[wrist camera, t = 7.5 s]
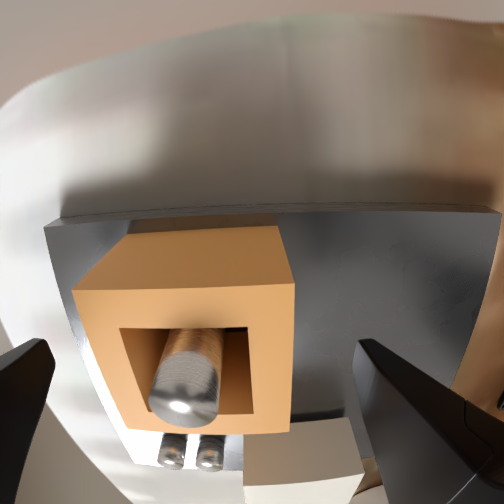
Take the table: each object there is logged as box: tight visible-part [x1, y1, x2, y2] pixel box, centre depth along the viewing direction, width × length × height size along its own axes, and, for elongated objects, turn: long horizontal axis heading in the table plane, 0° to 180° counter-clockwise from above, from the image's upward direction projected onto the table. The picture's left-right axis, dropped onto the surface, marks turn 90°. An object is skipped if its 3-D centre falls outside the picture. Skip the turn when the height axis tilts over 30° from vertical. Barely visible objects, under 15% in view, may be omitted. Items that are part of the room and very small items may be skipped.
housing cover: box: [243, 417, 365, 504], centre depth 13 cm, size 5×4×3 cm
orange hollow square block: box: [72, 226, 295, 435], centre depth 9 cm, size 5×5×4 cm
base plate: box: [44, 203, 502, 472], centre depth 11 cm, size 18×15×6 cm
